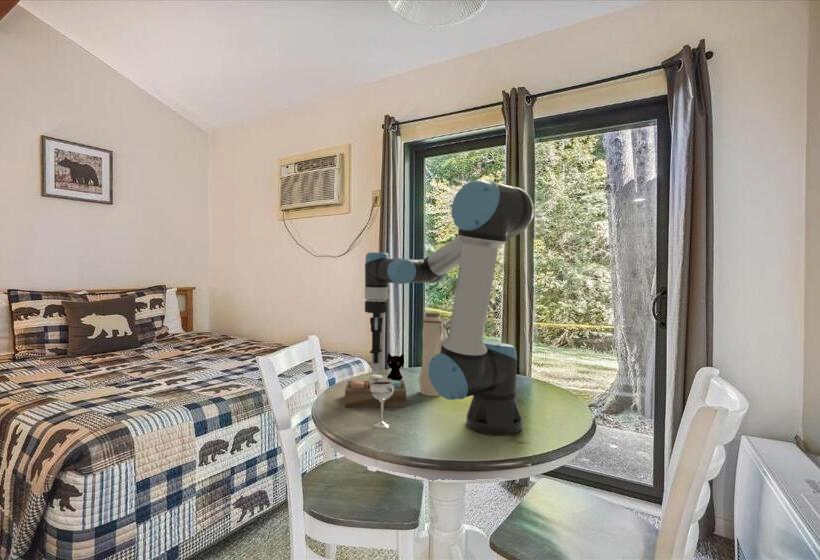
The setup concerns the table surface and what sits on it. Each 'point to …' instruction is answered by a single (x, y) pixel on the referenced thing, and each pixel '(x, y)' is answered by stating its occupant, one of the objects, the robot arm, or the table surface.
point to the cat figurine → (395, 366)
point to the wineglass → (382, 396)
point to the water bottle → (431, 348)
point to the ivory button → (374, 378)
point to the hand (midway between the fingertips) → (375, 372)
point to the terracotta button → (357, 384)
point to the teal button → (397, 384)
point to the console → (366, 399)
